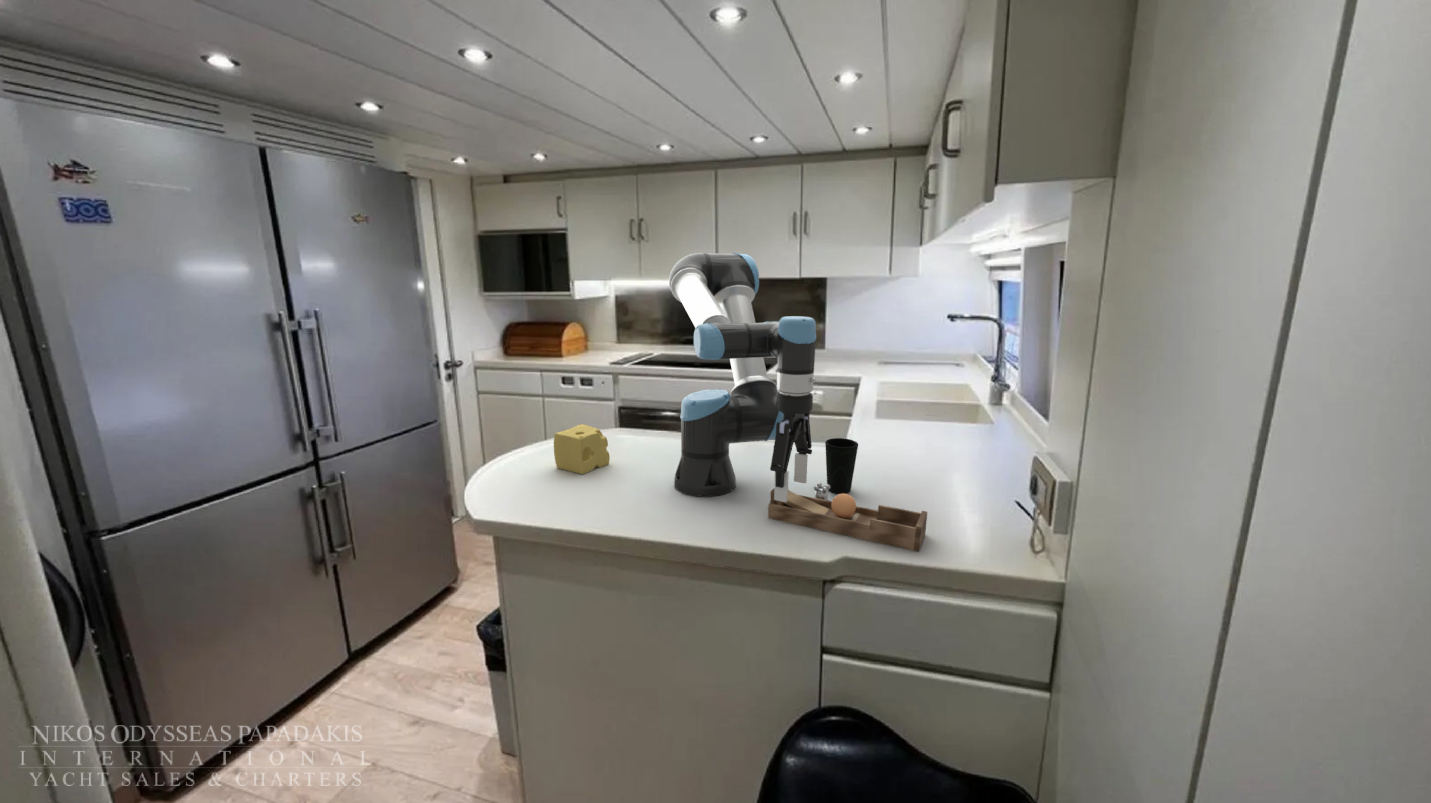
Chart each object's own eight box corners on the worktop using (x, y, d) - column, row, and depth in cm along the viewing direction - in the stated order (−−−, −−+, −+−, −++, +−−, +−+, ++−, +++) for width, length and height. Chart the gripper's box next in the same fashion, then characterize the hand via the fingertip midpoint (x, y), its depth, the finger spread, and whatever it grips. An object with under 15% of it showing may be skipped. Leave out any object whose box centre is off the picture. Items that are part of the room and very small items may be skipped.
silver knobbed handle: (806, 507, 126) (807, 486, 125) (813, 499, 131) (814, 479, 130) (828, 511, 124) (829, 490, 123) (835, 503, 128) (836, 483, 127)
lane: (768, 517, 121) (768, 492, 119) (781, 504, 128) (782, 480, 126) (919, 551, 107) (921, 523, 105) (925, 534, 114) (927, 507, 112)
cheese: (610, 464, 154) (608, 429, 151) (581, 476, 145) (579, 439, 142) (582, 457, 159) (581, 423, 157) (553, 468, 150) (551, 432, 148)
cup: (855, 497, 132) (858, 448, 129) (822, 494, 134) (825, 446, 131) (854, 485, 139) (857, 439, 137) (823, 482, 141) (825, 437, 138)
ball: (853, 501, 112) (829, 495, 115) (851, 524, 114) (827, 518, 116) (859, 493, 117) (836, 487, 119) (857, 515, 118) (834, 509, 120)
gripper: (791, 405, 104) (787, 514, 109) (829, 383, 125) (824, 476, 130) (755, 401, 108) (752, 507, 113) (797, 380, 128) (793, 471, 133)
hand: (790, 490), depth 121 cm, fingers open, 11 cm apart
